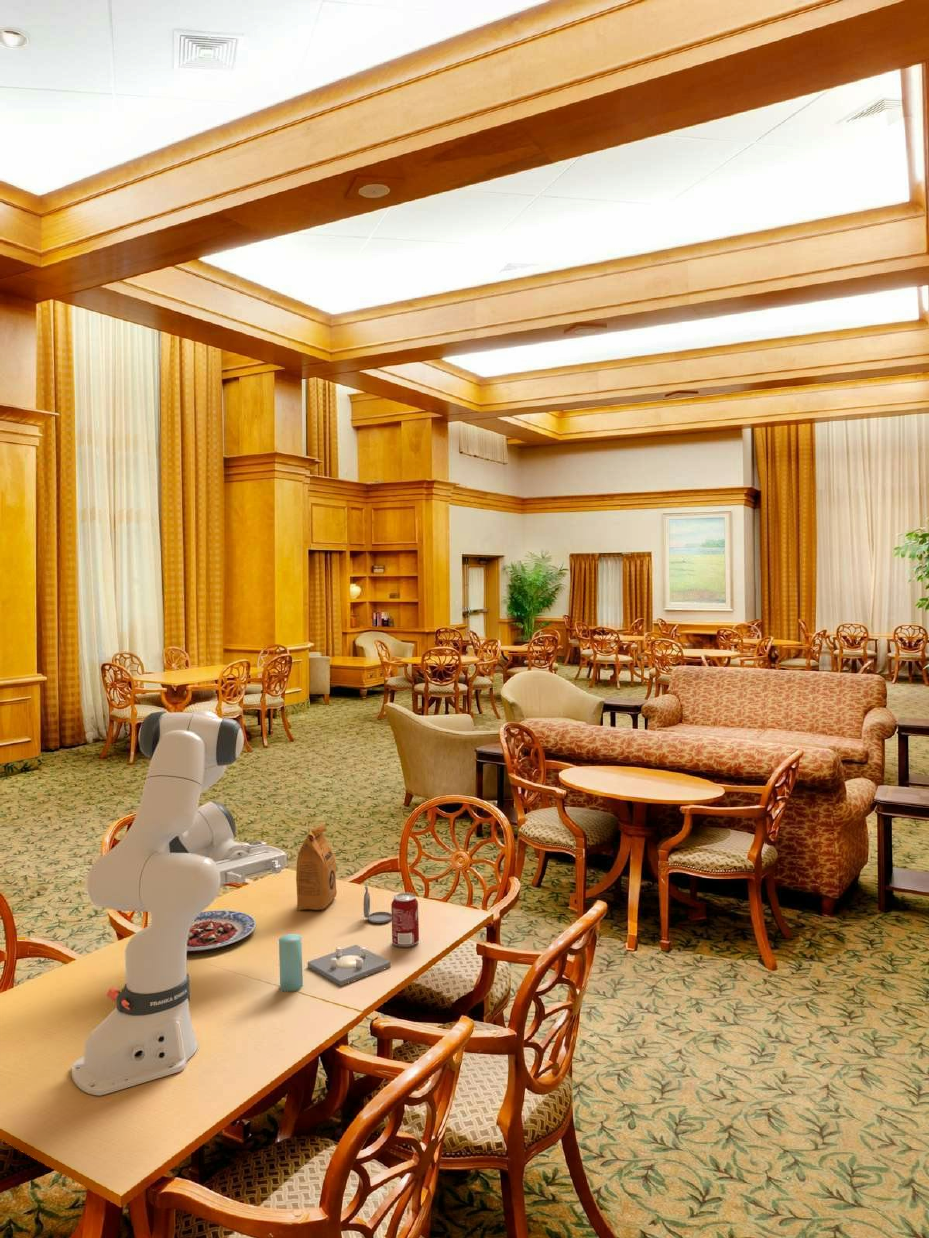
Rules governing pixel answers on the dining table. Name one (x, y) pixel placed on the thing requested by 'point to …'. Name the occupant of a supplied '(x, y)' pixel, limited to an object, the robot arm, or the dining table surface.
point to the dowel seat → (348, 964)
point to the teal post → (290, 962)
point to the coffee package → (315, 872)
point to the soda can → (405, 920)
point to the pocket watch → (377, 916)
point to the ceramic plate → (219, 929)
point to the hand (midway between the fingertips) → (260, 874)
